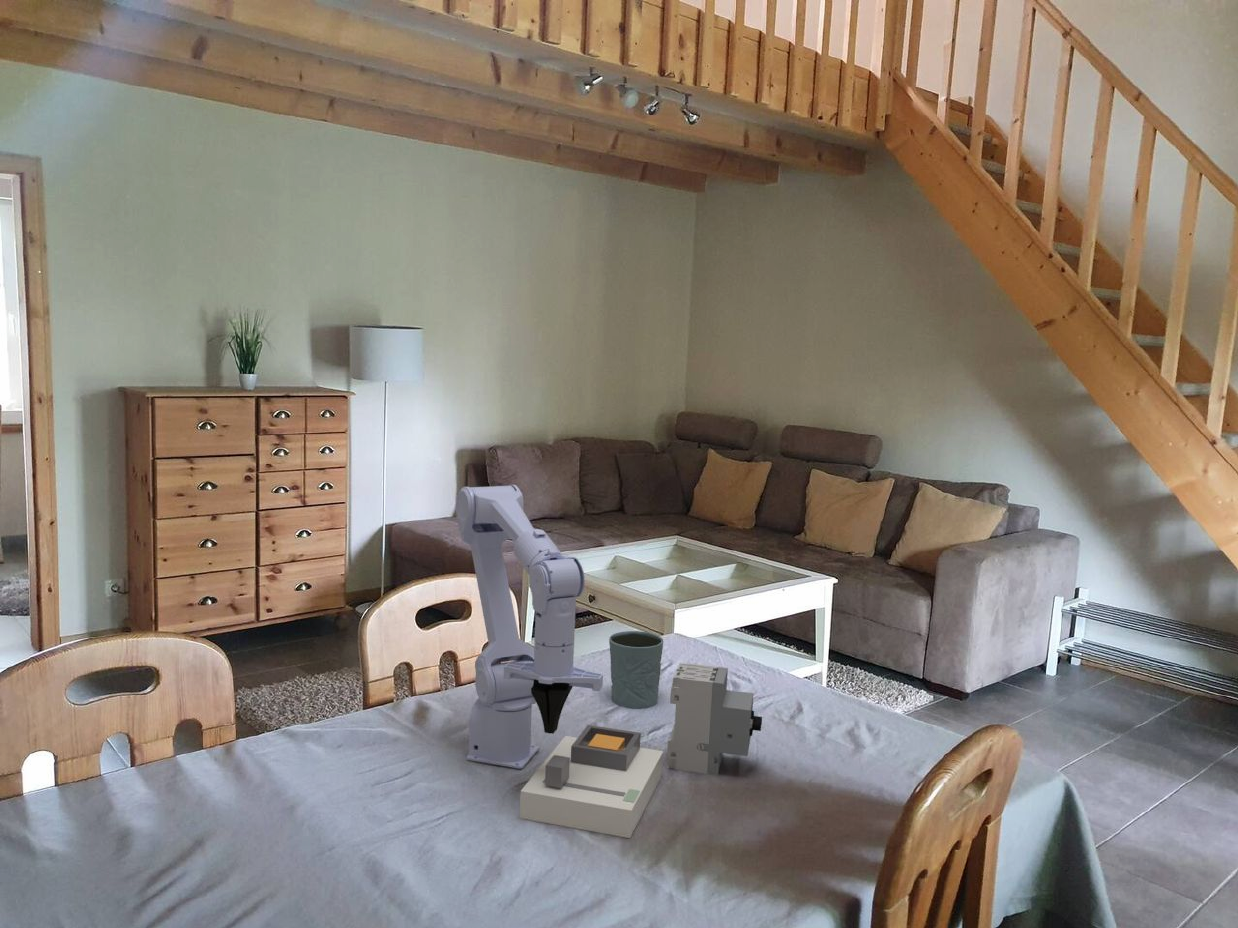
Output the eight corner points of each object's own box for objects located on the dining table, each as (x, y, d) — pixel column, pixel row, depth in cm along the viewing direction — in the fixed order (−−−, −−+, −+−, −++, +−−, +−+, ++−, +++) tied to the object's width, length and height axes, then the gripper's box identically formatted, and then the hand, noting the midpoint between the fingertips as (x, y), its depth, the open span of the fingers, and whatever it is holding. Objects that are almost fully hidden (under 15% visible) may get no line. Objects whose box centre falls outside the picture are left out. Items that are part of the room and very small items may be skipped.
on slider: (544, 785, 135) (545, 765, 134) (553, 774, 138) (554, 754, 138) (560, 788, 134) (561, 767, 134) (568, 777, 138) (569, 757, 137)
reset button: (587, 757, 145) (587, 745, 144) (595, 745, 149) (596, 733, 149) (616, 762, 143) (617, 749, 143) (624, 750, 148) (624, 738, 148)
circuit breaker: (756, 780, 149) (763, 688, 147) (666, 768, 152) (671, 677, 150) (759, 760, 156) (765, 672, 154) (673, 749, 159) (678, 662, 157)
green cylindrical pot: (660, 711, 175) (664, 648, 173) (605, 708, 175) (608, 645, 173) (659, 691, 185) (662, 631, 183) (607, 688, 185) (609, 628, 183)
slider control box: (519, 817, 134) (521, 773, 133) (564, 759, 153) (566, 720, 152) (630, 838, 130) (632, 792, 129) (661, 775, 149) (664, 735, 148)
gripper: (497, 643, 136) (494, 734, 138) (595, 655, 133) (591, 748, 134) (514, 629, 143) (511, 716, 145) (608, 640, 139) (604, 729, 141)
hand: (550, 730), depth 140 cm, fingers closed
